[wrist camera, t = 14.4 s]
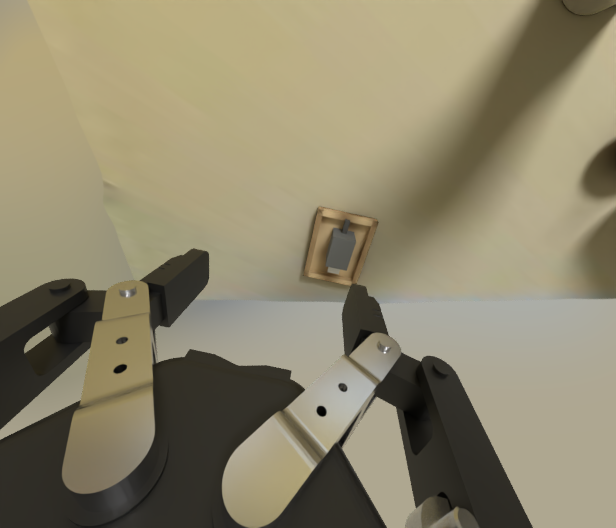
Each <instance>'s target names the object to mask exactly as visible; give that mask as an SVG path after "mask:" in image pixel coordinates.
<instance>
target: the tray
mask: <svg viewBox="0 0 616 528" xmlns="http://www.w3.org/2000/svg"><path fill="white" fill-rule="evenodd" d="M345 219H347V220H350V225H349V228H348V231H352V232H354V234H355V238H356V244H355V247H354V250H353V253H352V256H351V259H350V262H349V265H348V268H347V271H345V270H340V272H339V274H334V273H330V272H328V267H327V266H325V265H326V254H327V250H328V246H329V242H330V238H331V235H332V231H333V227H334V228H338V229H342V228H343V225H344V221H345ZM377 225H378V221H377V219H374V218H369V217H365V216H360V215H356V214H351V213H347V212H342V211H338V210H333V209H329V208H324V207H320V206H319V207H318V211H317V216H316V220H315V225H314V229H313V234H312V238H311V243H310V247H309V252H308V256H307V261H306V265H305V270H304V275H303V276H308V277H312V278H317V279H321V280H326V281H330V282H335V283H340V284H344V285H349V286H351V285H352V284H357V281H358V278H359V276H360V273H361V270H362V267H363V264H364V262H365V259H366V256H367V253H368V250H369V248H370V245H371V242H372V239H373V236H374V234H375V231H376V228H377Z"/></svg>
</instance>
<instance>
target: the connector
mask: <svg viewBox="0 0 616 528" xmlns="http://www.w3.org/2000/svg"><path fill="white" fill-rule="evenodd" d="M349 225H350V220H347V219H345V221H344V225H343V228H342V229H338V228H334V227H333V231H332V235H331V238H330V242H329V246H328V250H327V254H326V265H325V266H327V267H328V272H330V273H334V274H339V272H340V270H345V271H347V268H348V265H349V262H350V259H351V256H352V253H353V250H354V247H355V244H356V238H355V234H354V232H352V231H348V228H349Z"/></svg>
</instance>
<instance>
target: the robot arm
mask: <svg viewBox="0 0 616 528" xmlns="http://www.w3.org/2000/svg"><path fill="white" fill-rule="evenodd" d="M563 3H564V5H565V6H566V7H567V8H568V10H570V11H571V12H573V13H574V14H579V15H591V14H595V13H598V12H601V11H603V10H605V9H607V8H609V7H611V6H613V5H616V0H563ZM208 279H209V254H208V252H207V251H202V250H198V249H191V250H190V251H188V252H187V253H186V254H184V255H180V256H177V257H174V258H171V259H170V260H168V261H167V262H165V263H164V264H163V265H161V266H160V267H159V268H157V269H155V270H154V271H153V272H151V273H150V274H148V275H147V276H146V277H144V278H143V279H141V280H140V281H136V280H131V281H124V282H120V283H117V284H115V285H113V286H111V287H110V288H109V289H108V290H107V291H95V290H91V291H90V290H87V289H86V286H85V283H84V282H83V281H81V280H78V279H61V280H55V281H51V282H48V283H46V284H43V285H41V286H39V287H37V288H35V289H34V290H32V291H30V292H28V293H26V294H24V295H22V296H20V297H18V298H16V299H14V300H12V301H11V302H9V303H7V304H5V305H3V306H1V307H0V429H1V428H3V427H4V426H5V425H6V424H7V423H8V422H9V421H10V420H11V419H12V418H13V417H15V416H16V415H17V414H18V413H19V412H20V411H21V410H22V409H23V408H24V407H25V406H27V405H28V404H29V403H30V402H31V401H32V400H33V399H34V398H35V397H37V396H38V395H39V394H40V393H41V392H42V391H43V390H44V389H45V388H46V387H47V386H49V385H50V384H51V383H52V382H53V381H54V380H55V379H56V378H57V377H59V376H60V375H61V374H62V373H63V372H64V371H65V370H66V369H67V368H68V367H69V366H71V365H72V364H73V363H74V362H75V361H76V360H77V359H78V358H79V357H80V356H81V355H82V354H84V353H85V352H86V351H87V350H88V349H89V348H90V347H91V348H90V353H89V359H88V365H87V370H86V375H85V380H84V386H83V391H82V396H81V400H80V401H78V402H76V403H74V404H72V405H70V406H68V407H66V408H64V409H62V410H60V411H58V412H56V413H54V414H52V415H50V416H48V417H46V418H43V419H41V420H40V421H38V422H35V423H34V424H31V425H29V426H27V427H25V428H23V429H21V430H19V431H17V432H15V433H13V434H11V435H9V436H7V437H5V438H3V439H1V440H0V528H387V527H386V525H385V524H384V522H383V520H382V519H381V517H380V515H379V513H378V511H377V510H376V508H375V506H374V504H373V503H372V501H371V499H370V497H369V496H368V494H367V492H366V490H365V489H364V487H363V485H362V483H361V482H360V480H359V478H358V476H357V474H356V473H355V471H354V469H353V467H352V466H351V464H350V462H349V461H348V459H347V457H346V455H345V453H344V452H343V450H342V448H343V447H344V445H345V444H346V442H347V441H348V439H349V438H350V436H351V435H352V433H353V431H354V430H355V428H356V427H357V425H358V424H359V422H360V421H361V419H362V418H363V416H364V415H365V413H366V412H367V410H368V409H369V408H370V406H371V405H372V403H373V402H374V400H375V399H376V397H379V398H380V399H383V400H384V401H386V402H388V403H390V404H392V405H393V406H395V407H396V409H397V414H398V419H399V424H400V429H401V434H402V440H403V445H404V450H405V455H406V460H407V465H408V470H409V475H410V481H411V485H412V491H413V496H414V501H415V506H416V509H415V510H414V511H413V512H412V513H411V514H410V515H409V516H408V518H407V521H406V525H405V528H533V527H532V525H531V523H530V521H529V519H528V517H527V515H526V513H525V511H524V509H523V507H522V505H521V503H520V501H519V499H518V497H517V495H516V493H515V491H514V489H513V487H512V485H511V483H510V481H509V479H508V477H507V475H506V473H505V471H504V469H503V467H502V465H501V463H500V460H499V458H498V456H497V454H496V453H495V450H494V448H493V446H492V445H491V442H490V440H489V438H488V436H487V434H486V432H485V430H484V428H483V426H482V424H481V422H480V420H479V418H478V416H477V414H476V412H475V410H474V408H473V406H472V404H471V402H470V400H469V398H468V396H467V394H466V392H465V390H464V388H463V386H462V384H461V382H460V380H459V378H458V376H457V374H456V372H455V371H454V370H453V369H452V367H451V366H450V365H448V364H447V363H446V362H444V361H443V360H441V359H439V358H437V357H433V356H426V357H424V358H423V359H422V361H421V362H420V361H418V360H415V359H413V358H411V357H409V356H407V355H405V354H403V353H402V352H401V348H400V346H399V344H398V343H397V342H396V341H395V340H394V339H393V338H391V337H390V336H389V335H388V332H387V328H386V325H385V322H384V319H383V315H382V312H381V309H380V306H379V303H378V302H377V301H376V300H375V299H374V297H370V296H368V293H367V289H366V287H365V286H361V285H356V284H352V285H351V287H350V289H349V292H348V295H347V298H346V301H345V304H344V307H343V312H342V322H343V337H344V351H345V354H344V355H342V356H341V357H340V358H339V359H338V360H337V361H336V362H335V363H334V364H333V365H332V366H331V367H329V368H328V369H327V370H326V371H325V372H324V373H323V374H322V375H321V376H320V377H319V378H318V379H317V380H316V381H315V382H314V383H312V384H311V385H310V386H309V387H308V388H307V389H306V390H305V389H304V388H303V387H302V386H301V385H299V384H298V383H296V382H295V381H293V380H291V379H290V376H291V371H290V370H286V369H281V368H276V367H271V366H266V365H265V366H238V365H235V364H233V363H231V362H229V361H227V360H225V359H223V358H221V357H219V356H217V355H215V354H210V353H205V352H201V351H196V350H191V349H190V350H189V351H188V353H187V354H186V356H185V357H180V358H173V359H168V360H164V361H161V362H158V358H157V347H156V334H155V329H156V328H157V327H158V326H159V325H160V326H164V327H170V326H171V325H172V324H173V323H174V321H175V320H176V319H177V318H178V317H179V316H180V315H181V313H182V312H183V311H184V310H185V309H186V308H187V307H188V306H189V304H190V303H191V302H192V301H193V300H194V299H195V298H196V297H197V296H198V294H199V293H200V292H201V291H202V290H203V289H204V288H205V286H206V285H207V283H208ZM48 326H49V328H50V330H51V333H52V334H51V335H50V336H48V337H47V338H46V339H44V340H43V341H42V342H40V343H39V344H37V345H36V346H35V347H34V348H32V349H31V350H29V351H28V352H26V353H25V354H24V347H25V345H26V343H27V342H28V341H29V339H30V338H32V337H33V336H35V335H36V334H38V333H39V332H40V331H42V330H43V329H45V328H46V327H48Z"/></svg>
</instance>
